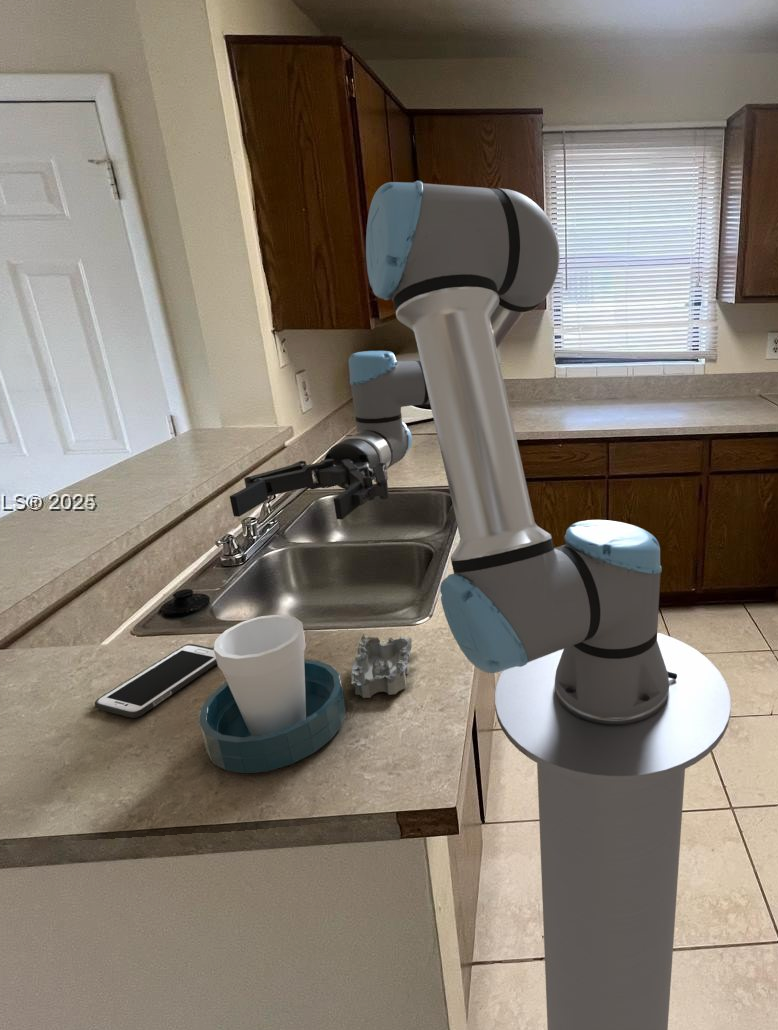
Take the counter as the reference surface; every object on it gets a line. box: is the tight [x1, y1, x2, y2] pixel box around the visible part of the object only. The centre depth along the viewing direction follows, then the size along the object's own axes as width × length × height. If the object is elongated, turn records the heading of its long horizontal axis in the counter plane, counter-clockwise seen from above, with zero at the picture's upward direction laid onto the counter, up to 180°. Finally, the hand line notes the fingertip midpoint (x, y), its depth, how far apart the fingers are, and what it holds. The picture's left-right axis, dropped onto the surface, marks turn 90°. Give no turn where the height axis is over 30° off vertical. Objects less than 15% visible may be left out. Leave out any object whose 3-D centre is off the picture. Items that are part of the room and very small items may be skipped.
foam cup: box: [213, 614, 307, 736], centre depth 74 cm, size 10×9×13 cm
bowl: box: [198, 658, 347, 774], centre depth 75 cm, size 16×16×5 cm
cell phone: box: [94, 643, 218, 719], centre depth 85 cm, size 8×15×1 cm, turn 163°
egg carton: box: [351, 634, 413, 699], centre depth 86 cm, size 11×8×4 cm
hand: (285, 508), depth 76 cm, fingers open, 13 cm apart
